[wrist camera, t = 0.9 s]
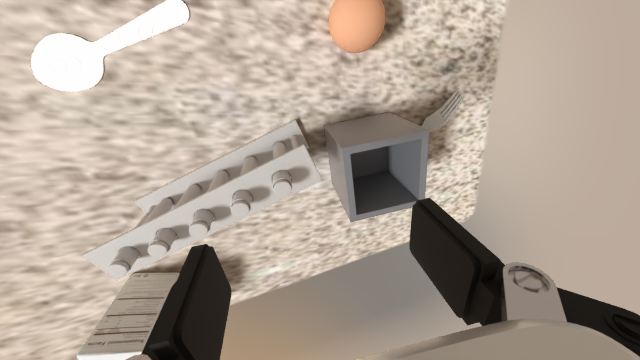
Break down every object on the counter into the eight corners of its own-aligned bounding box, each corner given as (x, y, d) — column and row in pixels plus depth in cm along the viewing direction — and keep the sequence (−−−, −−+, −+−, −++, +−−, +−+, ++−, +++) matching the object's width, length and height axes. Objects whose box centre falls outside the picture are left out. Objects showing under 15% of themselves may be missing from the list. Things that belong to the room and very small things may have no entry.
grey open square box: (323, 125, 33) (341, 148, 24) (388, 111, 34) (429, 129, 25) (332, 184, 37) (350, 222, 29) (389, 171, 38) (424, 204, 29)
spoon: (203, 34, 26) (202, 33, 26) (62, 102, 27) (58, 103, 26) (171, -24, 24) (169, -25, 23) (15, 53, 24) (10, 53, 24)
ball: (320, -2, 26) (332, -18, 21) (371, -10, 27) (395, -28, 22) (327, 57, 29) (340, 57, 24) (373, 49, 30) (395, 46, 24)
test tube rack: (295, 118, 32) (307, 151, 20) (309, 146, 34) (327, 190, 22) (136, 198, 33) (62, 273, 22) (159, 220, 35) (103, 299, 24)
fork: (345, 168, 40) (348, 176, 37) (459, 82, 34) (471, 85, 32) (355, 179, 41) (358, 187, 39) (466, 97, 35) (478, 101, 33)
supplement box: (184, 300, 43) (153, 384, 32) (137, 302, 41) (87, 391, 30) (181, 271, 40) (146, 352, 29) (131, 271, 38) (72, 357, 27)
